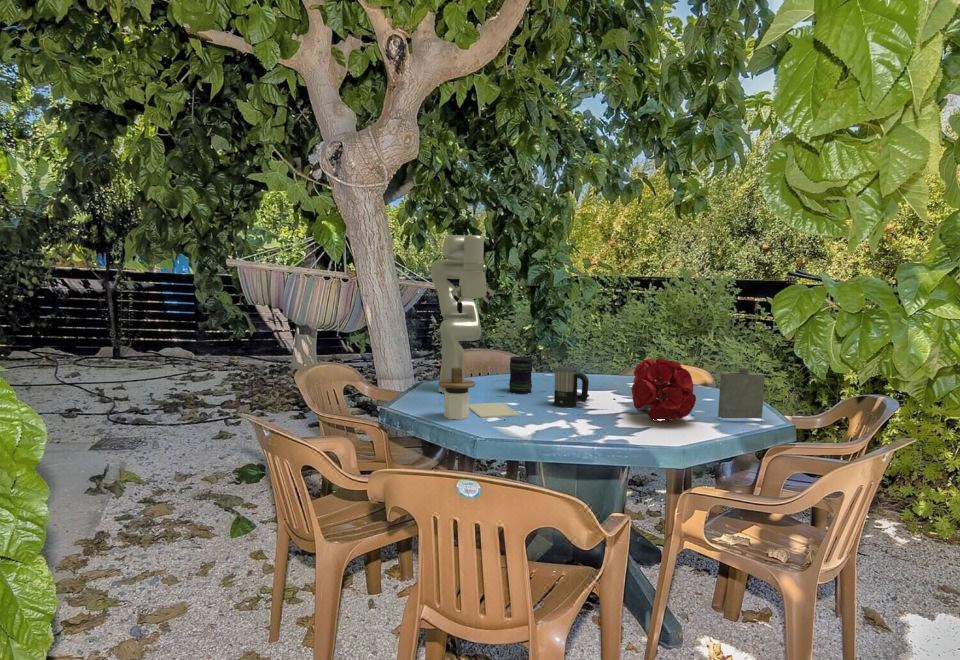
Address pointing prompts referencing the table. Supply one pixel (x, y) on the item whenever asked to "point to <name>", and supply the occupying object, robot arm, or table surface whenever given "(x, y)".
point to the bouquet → (663, 389)
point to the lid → (456, 380)
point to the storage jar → (520, 375)
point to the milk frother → (569, 387)
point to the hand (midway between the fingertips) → (472, 313)
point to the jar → (456, 403)
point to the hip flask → (741, 394)
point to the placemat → (492, 410)
